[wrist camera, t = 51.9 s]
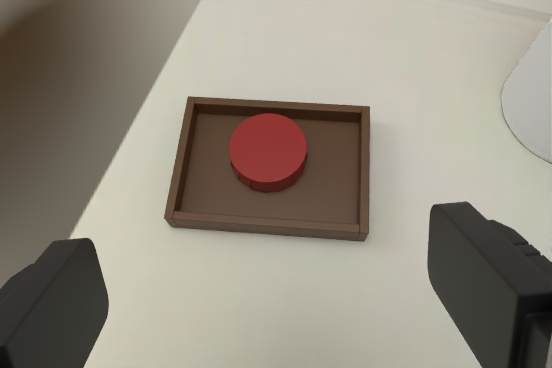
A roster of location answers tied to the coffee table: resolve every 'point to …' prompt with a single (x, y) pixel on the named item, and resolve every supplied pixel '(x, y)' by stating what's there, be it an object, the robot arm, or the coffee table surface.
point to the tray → (279, 204)
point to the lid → (268, 152)
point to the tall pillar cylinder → (532, 96)
